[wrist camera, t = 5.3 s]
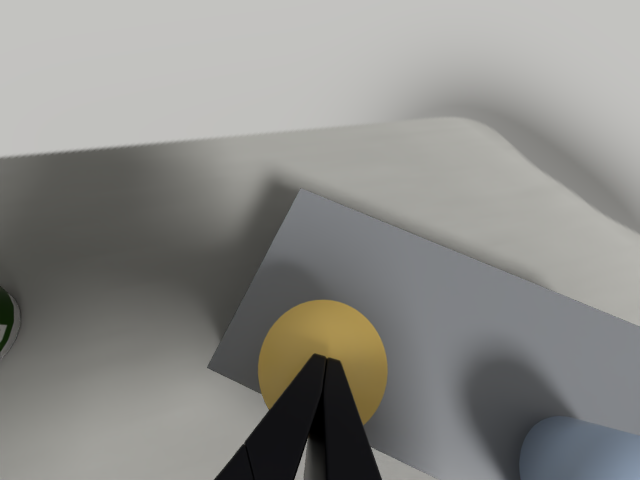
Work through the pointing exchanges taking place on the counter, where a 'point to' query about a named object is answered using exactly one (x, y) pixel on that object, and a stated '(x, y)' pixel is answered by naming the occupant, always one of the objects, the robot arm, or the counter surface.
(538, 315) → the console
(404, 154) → the counter surface
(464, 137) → the counter surface
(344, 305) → the amber button
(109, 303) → the counter surface
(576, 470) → the blue button
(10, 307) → the beer can
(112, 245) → the counter surface
